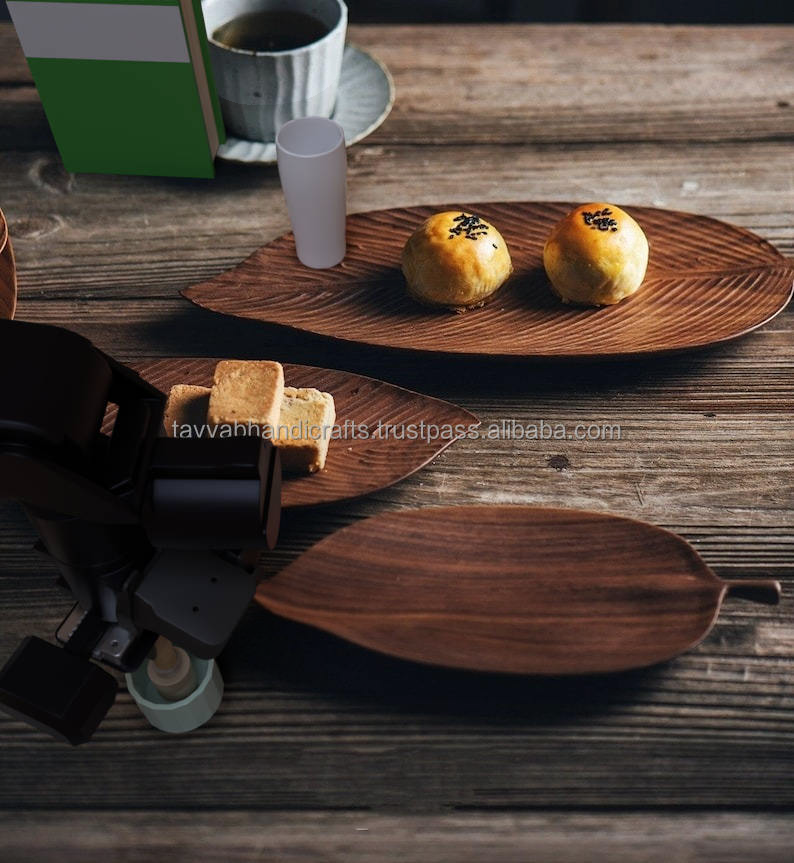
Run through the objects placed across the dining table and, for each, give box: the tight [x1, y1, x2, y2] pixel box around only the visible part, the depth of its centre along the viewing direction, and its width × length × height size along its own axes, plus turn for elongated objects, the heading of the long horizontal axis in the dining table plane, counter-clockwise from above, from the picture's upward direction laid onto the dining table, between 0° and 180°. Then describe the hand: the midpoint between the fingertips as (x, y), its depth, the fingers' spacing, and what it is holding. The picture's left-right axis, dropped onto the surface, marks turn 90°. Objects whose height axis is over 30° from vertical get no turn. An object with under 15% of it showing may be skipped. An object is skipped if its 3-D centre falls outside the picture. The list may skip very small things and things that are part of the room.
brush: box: [148, 630, 197, 702], centre depth 65 cm, size 3×3×10 cm
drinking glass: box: [274, 115, 348, 270], centre depth 94 cm, size 7×7×15 cm
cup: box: [124, 641, 225, 734], centre depth 68 cm, size 6×6×5 cm
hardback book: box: [5, 0, 228, 179], centre depth 102 cm, size 18×7×24 cm, turn 85°
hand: (157, 644), depth 63 cm, fingers closed on brush, 2 cm apart
